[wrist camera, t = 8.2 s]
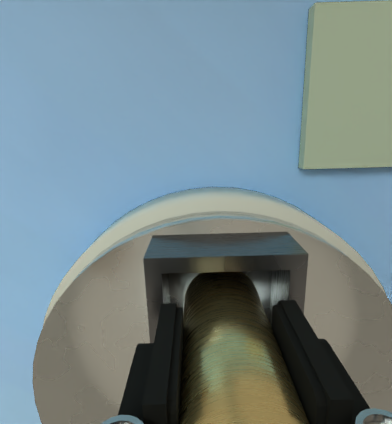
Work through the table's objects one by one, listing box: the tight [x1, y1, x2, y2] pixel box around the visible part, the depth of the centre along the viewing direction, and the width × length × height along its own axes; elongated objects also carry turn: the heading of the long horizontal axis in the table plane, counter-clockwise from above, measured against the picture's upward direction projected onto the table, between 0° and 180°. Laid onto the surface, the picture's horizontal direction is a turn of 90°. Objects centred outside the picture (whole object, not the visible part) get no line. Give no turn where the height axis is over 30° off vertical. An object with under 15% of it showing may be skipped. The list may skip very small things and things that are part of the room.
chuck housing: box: [43, 187, 385, 326], centre depth 18 cm, size 20×20×3 cm
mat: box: [298, 0, 392, 169], centre depth 15 cm, size 8×6×1 cm
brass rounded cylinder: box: [179, 272, 309, 424], centre depth 8 cm, size 3×3×9 cm
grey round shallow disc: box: [33, 211, 392, 424], centre depth 14 cm, size 19×19×4 cm
